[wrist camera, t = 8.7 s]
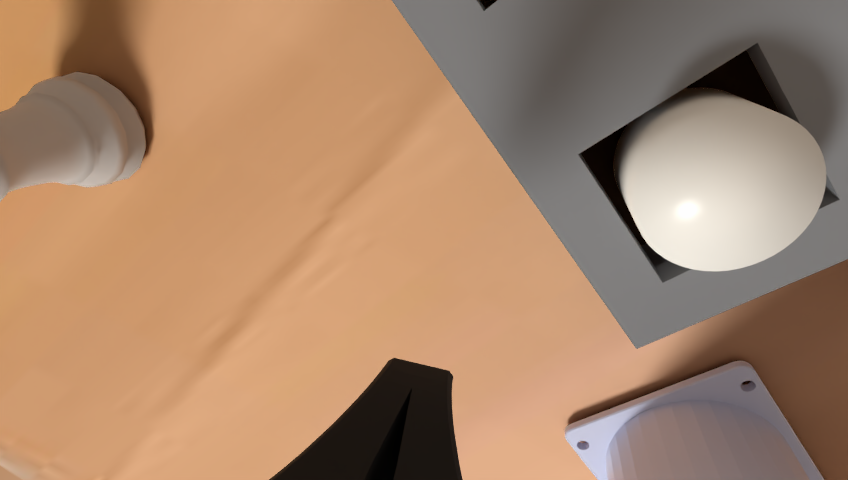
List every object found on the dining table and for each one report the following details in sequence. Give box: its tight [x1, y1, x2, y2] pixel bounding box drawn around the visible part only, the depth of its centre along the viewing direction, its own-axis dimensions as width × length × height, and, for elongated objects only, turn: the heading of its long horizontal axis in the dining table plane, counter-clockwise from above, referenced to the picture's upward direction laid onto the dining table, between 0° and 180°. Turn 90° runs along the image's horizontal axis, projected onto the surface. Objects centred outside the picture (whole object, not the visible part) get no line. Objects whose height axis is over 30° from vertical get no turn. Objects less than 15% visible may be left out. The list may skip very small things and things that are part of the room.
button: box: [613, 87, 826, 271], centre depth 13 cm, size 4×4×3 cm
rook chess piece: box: [0, 72, 146, 201], centre depth 17 cm, size 4×4×8 cm
